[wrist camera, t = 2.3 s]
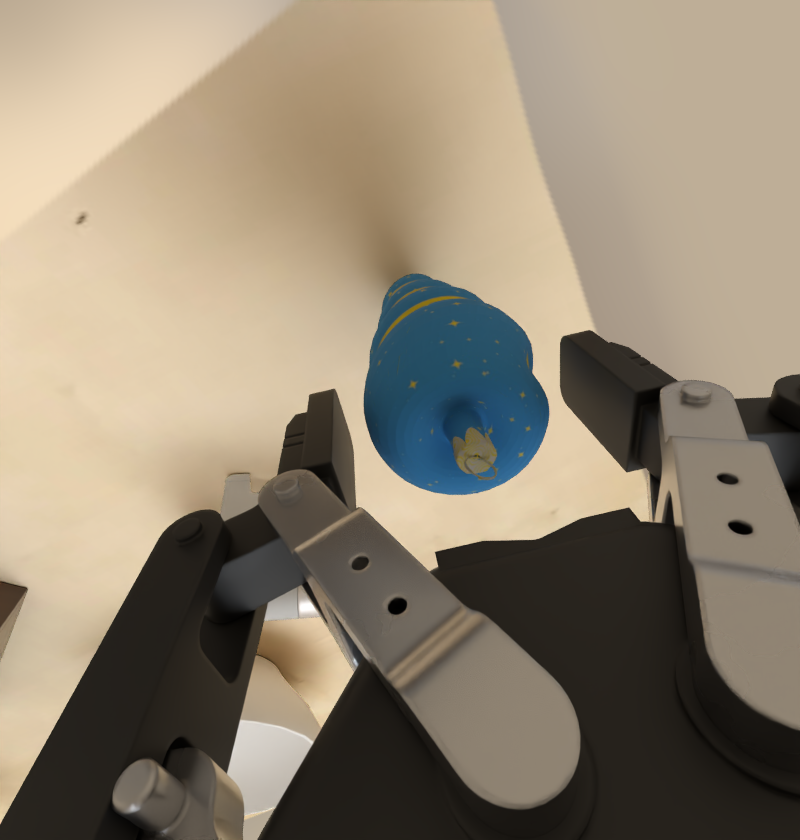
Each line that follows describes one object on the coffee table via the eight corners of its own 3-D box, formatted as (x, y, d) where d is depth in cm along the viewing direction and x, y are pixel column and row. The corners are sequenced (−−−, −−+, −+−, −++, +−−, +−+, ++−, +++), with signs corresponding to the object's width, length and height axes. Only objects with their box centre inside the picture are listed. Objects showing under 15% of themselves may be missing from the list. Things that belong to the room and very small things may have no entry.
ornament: (437, 348, 24) (549, 573, 11) (343, 328, 23) (348, 555, 10) (469, 250, 21) (659, 398, 9) (365, 222, 20) (409, 345, 7)
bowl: (343, 622, 35) (344, 718, 29) (316, 722, 43) (312, 814, 37) (125, 614, 32) (76, 721, 26) (138, 725, 40) (103, 826, 34)
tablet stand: (215, 564, 30) (177, 690, 23) (192, 474, 26) (138, 594, 19) (340, 557, 31) (341, 675, 24) (338, 469, 27) (337, 581, 20)
